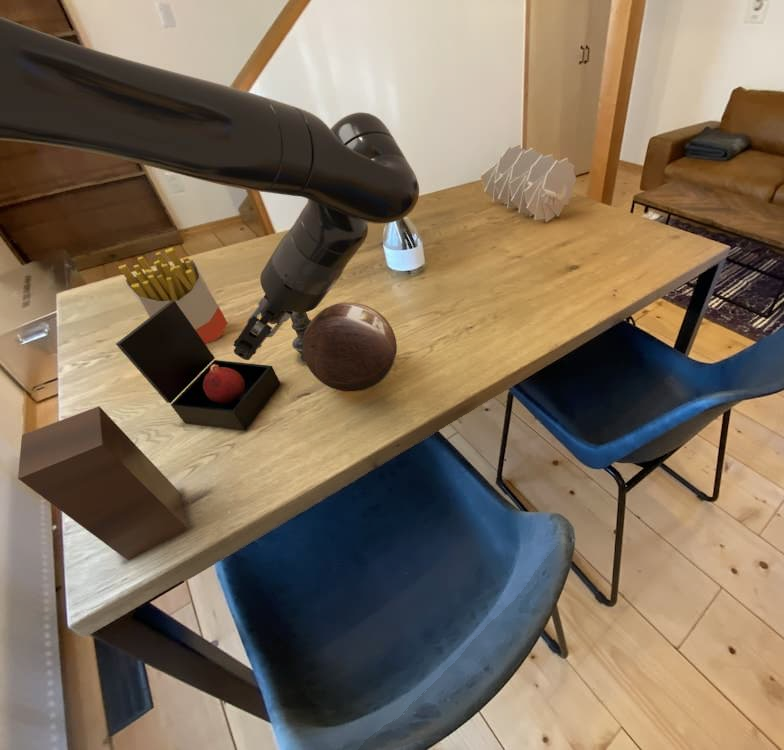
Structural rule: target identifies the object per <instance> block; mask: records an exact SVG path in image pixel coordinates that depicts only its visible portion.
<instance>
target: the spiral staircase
mask: <svg viewBox="0 0 784 750" xmlns="http://www.w3.org/2000/svg"><path fill="white" fill-rule="evenodd" d="M542 153H543V152H540V151H535V150H534V147H531V148H529V149H525V148H522V147H521V143H518V144H515V145H514V146H511V145H508V146H507V147H506V149H505V150H504V152H503V153H502V154H501V156H499V157H498V161H497V162H495V163H494V164H493V165H492V166H491V167H489V168H488V169H486V170H485V171H484V172H482V173H481V174H480V180H481V182H482V185H483V189H484V190H483V193H485V194H486V195H487V196H488V197H490V198H491V199H492V201H491V202H492V203H503V205H504V206H505V205H506V209H513V208H516V209H518V212H517V213H518V214H528V216H529V218H530V217H532V216H533V220H534V221H536V220H537V221H538V220H544V222H545V223H548V222H549V221H550V220H552V218H554V217H555V216H556V217H559V216H560V215H561V213H562V210H563V209H564V207H565V206H566V205H567V206H568V205H569V203H570V199H571V198H572V197H574V184H575V183H576V181H577V179H578V178H577V177H576V174H575V172H574V171H575V167H576V165H575V164H573V163H571V162H570V161H569V157H565V158H563V159H561V160H558V159H555V158H554V154H552V153H551V154H548V155H545V156H544V154H542Z"/></svg>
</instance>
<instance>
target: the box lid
mask: <svg viewBox="0 0 784 750" xmlns="http://www.w3.org/2000/svg"><path fill="white" fill-rule="evenodd" d="M115 346H117V348H118V349H119V350H120V351H121V352H122V353H123V354H124V355H125V356H126V357H127V359H128V360H129V362H131V363H132V365H133V366H134V367H135V368H136V369H137V370H138V372H140V374H141V375H142V376H143V378H145V379H146V380H147V382H148V383H149V384H150V385H151V386H152V387H153V389H154V390H155V391H156V392H157V393H158V394H159V396H160V397H161V398H162V399H163V400H164V401H165V403H167V404H172V403H173V402H174V401H175V400H176V399H177V398H178V397H179V396H180V395H181V394H182V393H183V392H184V391H185V390H186V389H187V388H188V387H189V386H190V385H191V384H192V383H193V381H194V380H195V379H196V378H197V377H198V376H199V375H200V374H201V373H202V372H203V371H204V370H205V369H206V368H207V367H208V366H209V365H210V364H211V363H212V362H213V361H214V360H216V358H215V356H214V354H213V353H212V351H211V350H210V348H209V347H208V346H207V344H206V343H204V342H203V340H202V339H201V337H200V336H199V335H198V333H197V332H196V330H195V329H194V327H193V326H192V325H191V323H190V322H189V320H188V319H187V317H186V316H185V315H184V313H183V312H182V310H181V309H180V307H179V306H178V305H177V303H176V302H175V301H170V302H169V303H168V304H167V305H165V306H164V307H163V308H161V309H160V310H159V311H158V312H156V313H155V314H154V315H152V316H151V317H150V318H149V317H148V318H147V319H146V320H144V321H143V322H142V323H140V324H139V325H138V326H137V327H135V328H134V329H133V330H132V331H130V332H129V333H128V334H127V335H125V336H124V337H123V338H121V339H120V340H119V341H118V342H116V343H115Z"/></svg>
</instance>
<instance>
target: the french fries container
mask: <svg viewBox="0 0 784 750" xmlns="http://www.w3.org/2000/svg"><path fill="white" fill-rule="evenodd" d="M164 252H165V254H166V255H167V256H168V258H169V259H170V261H171V262H172V264H173V265H171V264H170V263H169V262H168V261H167V259H166V258H165V257H164V256H163V254H162V253H161V252H160V251H158V252H157V253H155V255H156V257H157V258H158V259H157V260H156V261H153V265H154V266H155V269H156V270H154V269H153V268H152V267H151V266H150V264H149V263H148V262H147V259H146V258H145V257H144V255H143V256H139V257H137V261H138V263H139V264H135V265H133V269H134V271H135V272H136V273H135V275H134V274H133V273H132V271H131V270H130V268H129V267H128V265H126V264H125V263H124V264H122V265H119V266H118V270H119V271H120V272H121V273H122V275H123V276H124V277H125V282H126V284H127V286H128V288H129V289H130V291H131V292H132V294H133V295H134V297H135V298H136V301H138V303H139V304H140V306H141V308H142V309H143V310H144V312H145V314H146V315H147V316H148V319H149V318H150V317H151V316H152V315H154V314H155V313H156V312H158V311H159V310H160V309H161V308H163V307H164V306H165V305H167V304H168V303H169V302H170V301H175V302H176V303H177V305H178V306H179V307H180V309H181V310H182V312H183V313H184V315H185V316H186V317H187V319H188V320H189V322H190V323H191V325H192V326H193V327H194V329H195V330H196V332H197V333H198V335H199V336H200V337H201V339H202V340H203V342H204V343H205V344H208V343H210V342H213V341H215V340H218V339H220V338H221V336H222V334H223V332H224V331H225V329H226V328H227V326H228V321H227V319H226V317H225V316H224V314H223V312H222V310H221V308H220V306H219V304H218V303H217V301H216V300H215V298H214V296H213V294H212V292H211V291H210V288H209V287H208V285H207V283H206V280H205V279H204V278H203V275H202V274H201V272H200V270H199V268H198V266H197V265H196V263H195V261H194V259H190V258H189V257H188V256H185V257H182V260H181V259H180V257H179V255H178V254H177V252H176V251H175V249H174V248H173V247H170V248H167V249H164ZM142 268H143V269H142Z"/></svg>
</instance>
